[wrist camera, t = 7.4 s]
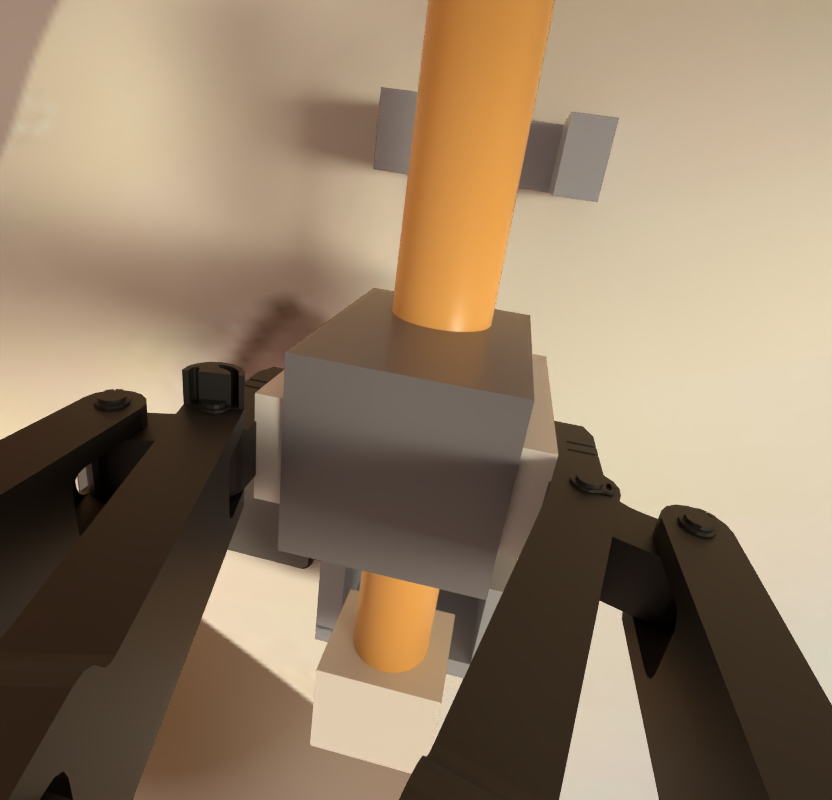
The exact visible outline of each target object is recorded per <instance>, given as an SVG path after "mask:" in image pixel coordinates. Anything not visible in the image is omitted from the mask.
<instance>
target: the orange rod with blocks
mask: <svg viewBox="0 0 832 800" xmlns="http://www.w3.org/2000/svg"><path fill="white" fill-rule="evenodd" d="M554 3H555V0H428V9H427V18H426V26H425V35H424V43H423V52H422V60H421V69H420V77H419V86H418V94H417V103H416V111H415V120H414V128H413V137H412V145H411V154H410V163H409V171H408V180H407V188H406V197H405V205H404V214H403V222H402V231H401V239H400V248H399V256H398V265H397V273H396V282H395V290H394V291H388V290H382V289H377V288H373V289H372V290H370V291H369V292H368V293H366V294H365V295H364V296H362V297H361V298H359V299H358V300H357V301H355V302H354V303H352V304H351V305H350V306H348V307H347V308H346V309H344V310H343V311H341V312H340V313H339V314H337V315H336V316H334V317H333V318H332V319H330V320H329V321H328V322H326V323H325V324H323V325H322V326H321V327H319V328H318V329H317V330H315V331H314V332H312V333H311V334H310V335H308V336H307V337H305V338H304V339H303V340H301V341H300V342H299V343H297V344H296V345H294V346H293V347H292V348H290V349H289V350H287V351H286V352H285V364H284V392H283V420H282V448H281V476H280V504H279V532H278V551H282V552H287V553H291V554H295V555H299V556H303V557H308V558H312V559H316V560H320V561H324V562H328V563H333V564H337V565H341V566H345V567H349V568H353V569H358V570H362V572H361V580H360V589H359V591H356V590H352V589H350V591H349V594H348V596H347V598H346V601H345V603H344V606H343V608H342V610H341V613H340V615H339V617H338V620H337V622H336V625H335V627H334V629H333V632H332V634H331V636H330V639H329V641H328V643H327V646H326V648H325V651H324V653H323V655H322V658H321V660H320V662H319V665H318V667H317V670H316V680H315V692H314V705H313V717H312V729H311V742H310V745H312V746H315V747H319V748H323V749H326V750H330V751H333V752H337V753H341V754H344V755H347V756H351V757H354V758H358V759H362V760H365V761H369V762H372V763H376V764H379V765H383V766H386V767H390V768H394V769H397V770H401V771H404V772H408V773H411V774H412V772H413V770H414V768H415V766H416V764H417V763H418V761H419V760H420V758H421V757H422V756H427V755H428V754H429V752H430V751H431V747H432V743H433V738H434V734H435V729H436V725H437V720H438V716H439V711H440V707H441V702H442V696H443V689H444V683H445V676H446V670H447V664H448V657H449V651H450V644H451V638H452V632H453V625H454V619H455V614H451V613H446V612H442V611H438V610H436V605H437V600H438V594H439V589H441V590H445V591H450V592H454V593H458V594H462V595H466V596H470V597H475V598H479V599H483V600H486V597H487V593H488V589H489V585H490V581H491V577H492V573H493V568H494V564H495V560H496V556H497V552H498V548H499V544H500V540H501V536H502V532H503V528H504V523H505V519H506V515H507V511H508V507H509V503H510V499H511V495H512V491H513V487H514V482H515V478H516V474H517V470H518V466H519V462H520V458H521V454H522V450H523V446H524V441H525V437H526V433H527V429H528V425H529V421H530V417H531V413H532V409H533V405H534V382H533V362H532V343H531V323H530V315H525V314H519V313H514V312H508V311H502V310H497V309H495V304H496V299H497V293H498V288H499V283H500V278H501V273H502V268H503V263H504V258H505V253H506V247H507V242H508V237H509V232H510V227H511V222H512V217H513V212H514V207H515V202H516V196H517V191H518V186H519V181H520V176H521V171H522V166H523V161H524V156H525V151H526V145H527V140H528V135H529V130H530V125H531V120H532V115H533V110H534V105H535V100H536V94H537V89H538V84H539V79H540V74H541V69H542V64H543V59H544V54H545V49H546V43H547V38H548V33H549V28H550V23H551V18H552V13H553V8H554Z"/></svg>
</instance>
